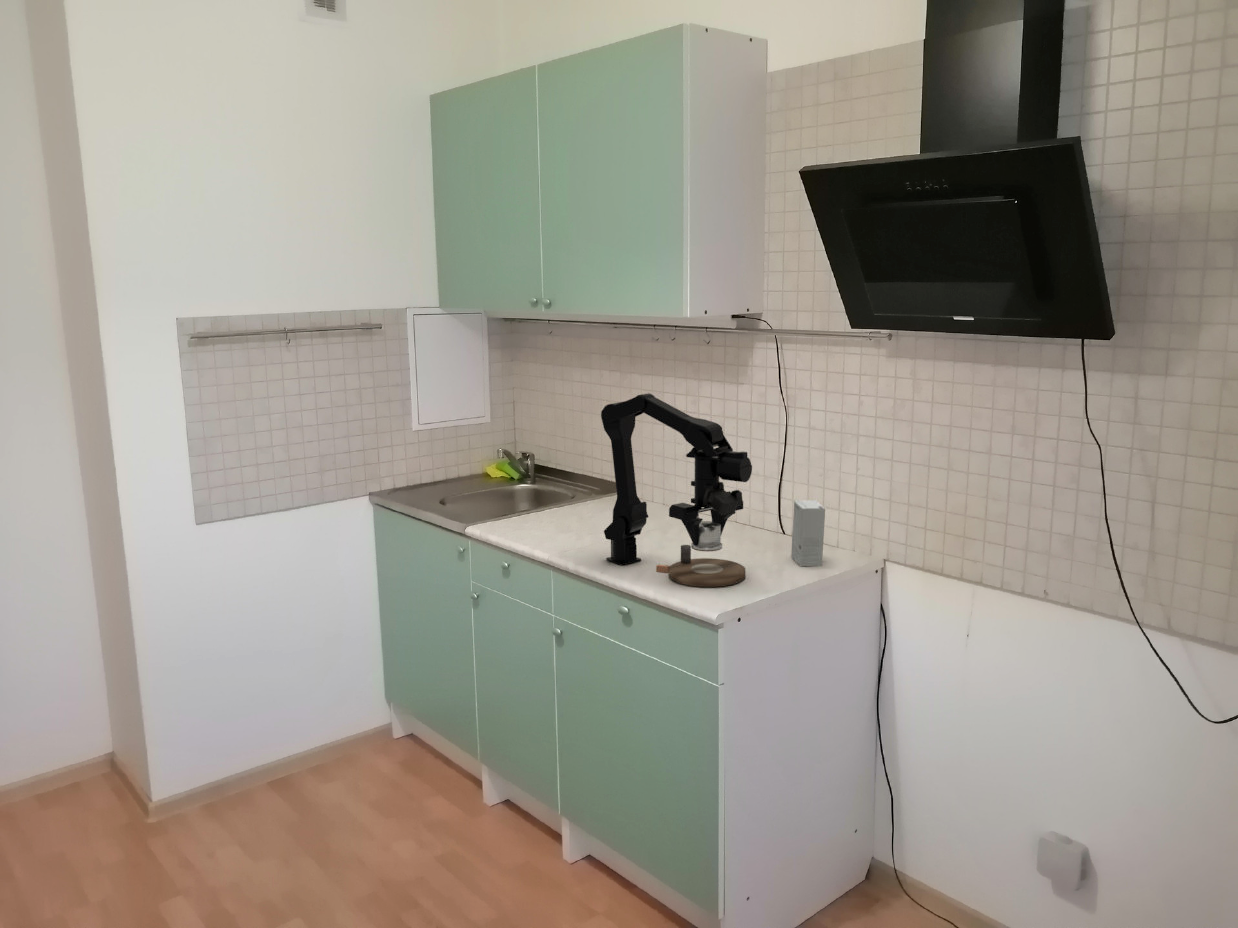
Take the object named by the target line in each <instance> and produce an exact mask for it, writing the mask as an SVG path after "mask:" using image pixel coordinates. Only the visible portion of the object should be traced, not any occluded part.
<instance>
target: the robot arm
mask: <svg viewBox="0 0 1238 928" xmlns="http://www.w3.org/2000/svg"><path fill="white" fill-rule="evenodd" d="M642 414H645V415H647V416H649V417H651V418H653V419H654V420H656V421H658V422H660V423H662V424H663V425H665V426H667V427H668V428H670V429H673V430H675V431H676V432H678V433H679V434H680V435H681V436H682V437H683V438H684V440H685V442H687V443H688V444H689V445H691V446H692V449H691V450H690V451H689V452H687V453H686V454H685V457H686V458H692V459H694V480H691V481H690V486H692V487H694V497H692V498H690V503H691V504H689V503H686V502H679V503H674V504H671V505H670V507H669V508H668V517H669V518H673V519H676V520H680V521H681V522H682V524H683V525H684V527H685V530H686V531H687V534H688V535H689V538H690V540H691V543H692V542H693V544H694V545H695V546H698V541H699V524H700V523H701V521H704V520H703V518H700V517H699V515H700V514H699V513H705V512H710V517H711V521H712V522H717V523H720V524H721V535H722V534H723V531H724V529H725V526H726V523H727V521H728V519H730V517H731V516H733V515H735V514H736V511H742V510H744V500H743V493H742V491H741V490H739V489H735V490H732V491H726V490H725V488H724V487H725V485H724V482H723V481H731V482H738V483H748V482H749V480H750V478H751V476H752V472H753V464H752V462H751V459H750V458H749V457H748V452H747V451H734V450H733V448H732V446H731V445H730V443H729V441H728V440H727V438H726V436H725V435H724V432H723V431H724V430H723V427H722V426H721V425H720V424H719V423H717V422H715V421H711V420H708V419H705V418H697V417H694V416H692V415H689V414H687V413H685V412H684V411H681V410H679V409H678V408H676V407H674V406H673V405H671V404H669V403H667V402H665V401H664V400H661V399H659V398H657V397H655V395H653V394H652V393H649V392H648V393H647V392H646V393H642V394H641V393H640V394H638V395H636V396H634V397H632V398H630V399H627V400H626V401H618V402H614V403H609V404H606V405H604V407H603V408H602V410H601V412H600V417H601V423H602V425H603V426H602V427H603V430H604V432H605V433H606V434H607V436H608V438H609V440H610V443H611V451H612V454H611V455H612V461H613V462H612V463H613V471H614V480H615V481H614V482H615V489H616V491H615V492H616V501H615V503H614V507H613V509H612V522H610V524H609V525H608V526H607V527H606V528H605V529H604V530H603V534H604V536H605V539H606V540H609V541H610V556H609V557H606V558H605V560H606V561H608V562H611V563H613V564H617V565H619V566H624V565H630V564H632V563H637V562H641V561H642V559H641V558H640V557H638V553H637V548H638V547H637V537H636V536H639V535H641V533H642V530H643V529H644V527H645V525H646V524H647V519H648V518H649V515H648V511H647V505H648V504H647V502H646V501H641V499H640V498H639V496H638V492H637V482H636V473H635V466H634V464H635V463H634V454H633V446H632V436H633V433H634V430H635V427H636V417H638V416H641V415H642ZM720 479H721V480H723V481H720Z"/></svg>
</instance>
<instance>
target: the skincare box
mask: <svg viewBox="0 0 1238 928" xmlns="http://www.w3.org/2000/svg"><path fill="white" fill-rule="evenodd" d="M792 517H793V520H792V532H791V533H792V535H791V536H792V537H791V554H790V556H791V557H790V558H792V559H793V561H795V562H796V564H797V565H798V566H799V567H821V566H823V557H824V556H823V554H824V553H823V551H824V536H825V535H824V534H825V520H826V508H825V507H824V506H823V505H822V503H819V502H818V500H816V499H814V500H813V499H810V500H809V499H805V500H804V499H802V500H799V499H795V500H793V516H792Z"/></svg>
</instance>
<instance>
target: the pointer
mask: <svg viewBox="0 0 1238 928" xmlns="http://www.w3.org/2000/svg"><path fill="white" fill-rule="evenodd" d="M670 566H671V565H667V564H666V565H665V564H656V567H655V570H656V572H657V573H665V574H669V567H670Z"/></svg>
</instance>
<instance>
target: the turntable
mask: <svg viewBox="0 0 1238 928" xmlns="http://www.w3.org/2000/svg"><path fill="white" fill-rule="evenodd" d="M691 549H692V548H691V545H690V544H681V545H680V561H676V562H674V563H672V564H671V565H669V566H670V567H669V573H668V578H670V580H671V581H674V582H676V583H678V584H680V585H681V584H682V585H685V586H692V587H703V588H704V587H705V588H706V587H707V588H713V587H725V586H731V585H736V584H737V583H740V582H742V581H744V580H745V578H746V567H745V566H744V565H743V564H741V563H738V562H735V561H731V560H728V559H723V558H722V559H721V558H710V557H707V558H705V557H704V558H702V557H701V558H691V557H692V550H691Z"/></svg>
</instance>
